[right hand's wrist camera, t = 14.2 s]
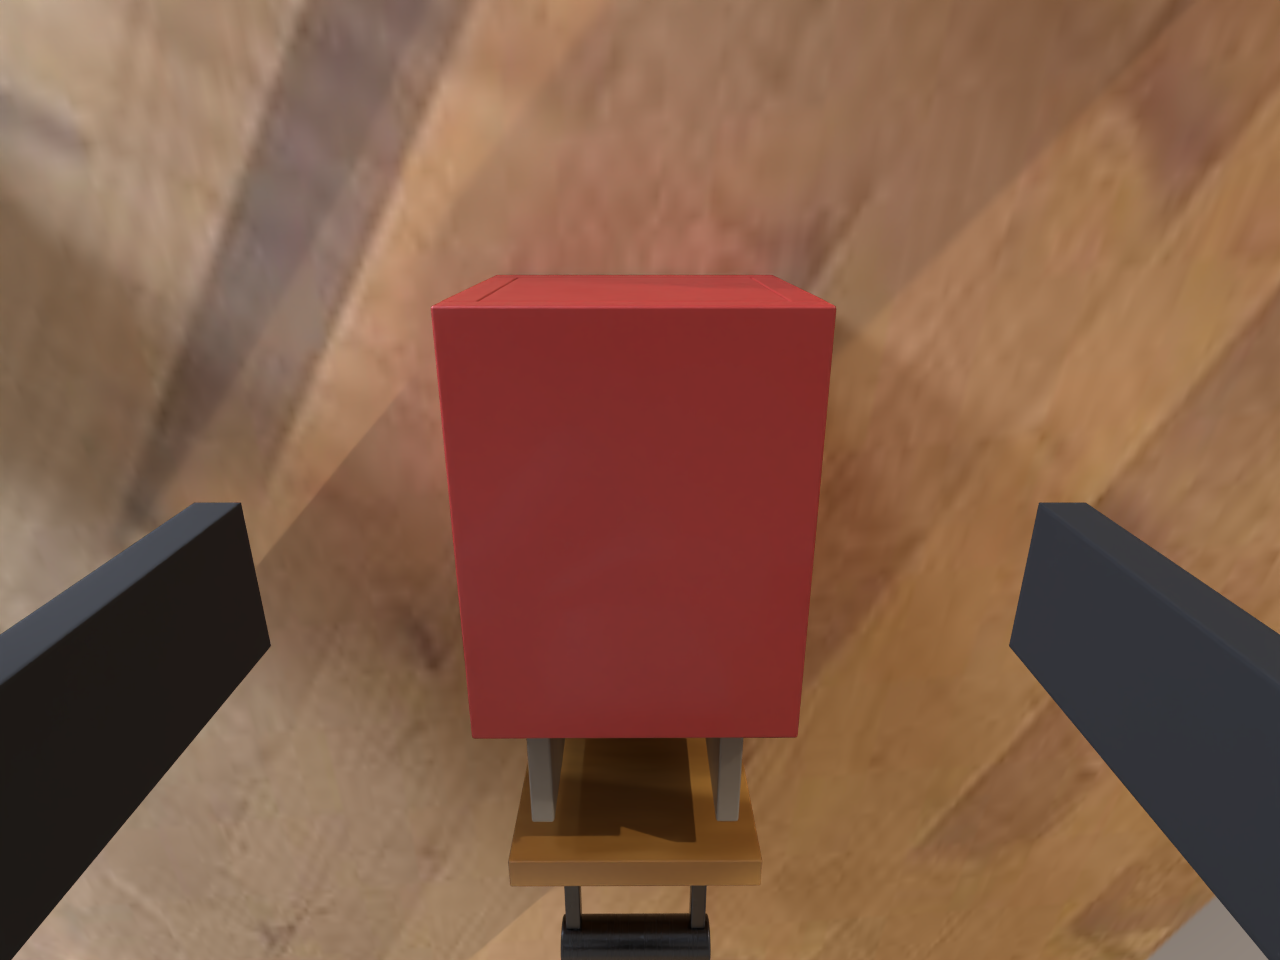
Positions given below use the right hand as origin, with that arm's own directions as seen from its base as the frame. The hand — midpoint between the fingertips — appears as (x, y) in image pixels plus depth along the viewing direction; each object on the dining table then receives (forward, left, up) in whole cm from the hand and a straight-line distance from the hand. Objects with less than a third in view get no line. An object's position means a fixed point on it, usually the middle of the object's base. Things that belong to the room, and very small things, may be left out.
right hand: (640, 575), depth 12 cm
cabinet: (+2, -2, -17) cm, 17 cm away
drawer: (+10, -10, -16) cm, 21 cm away
